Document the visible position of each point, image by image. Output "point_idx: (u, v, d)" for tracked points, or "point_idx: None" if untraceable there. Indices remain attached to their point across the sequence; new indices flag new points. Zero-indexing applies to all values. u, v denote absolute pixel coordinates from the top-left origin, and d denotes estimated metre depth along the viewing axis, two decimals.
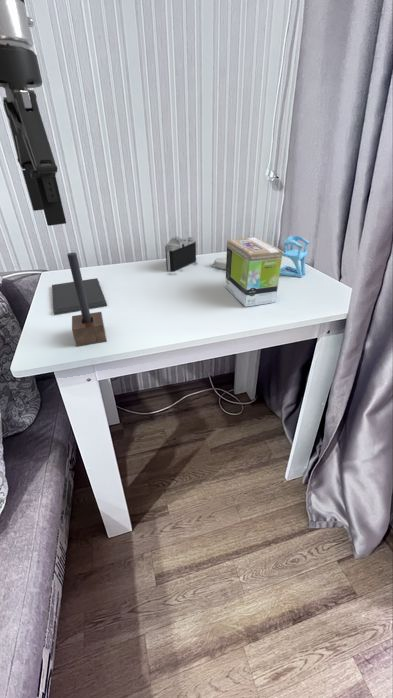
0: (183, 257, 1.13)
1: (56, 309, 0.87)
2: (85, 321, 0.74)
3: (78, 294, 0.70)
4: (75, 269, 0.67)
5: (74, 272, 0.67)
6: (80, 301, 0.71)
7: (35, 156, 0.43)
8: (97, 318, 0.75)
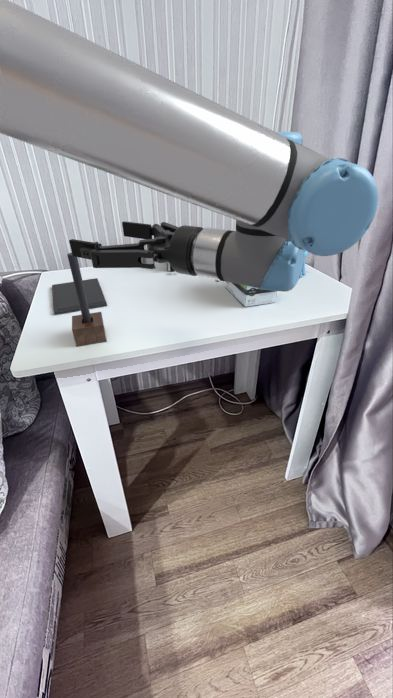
0: None
1: (56, 309, 0.87)
2: (85, 321, 0.74)
3: (78, 294, 0.70)
4: (75, 269, 0.67)
5: (74, 272, 0.67)
6: (80, 301, 0.71)
7: (101, 253, 0.48)
8: (97, 318, 0.75)
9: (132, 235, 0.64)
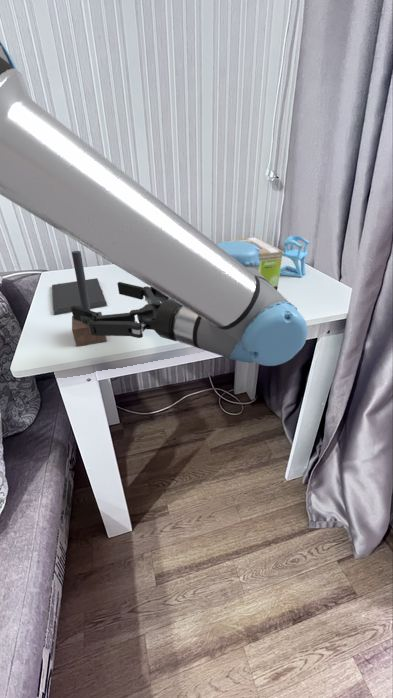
0: None
1: (56, 309, 0.87)
2: None
3: (80, 292, 0.71)
4: (79, 267, 0.68)
5: (77, 270, 0.68)
6: (82, 299, 0.71)
7: (97, 325, 0.58)
8: None
9: (126, 294, 0.73)
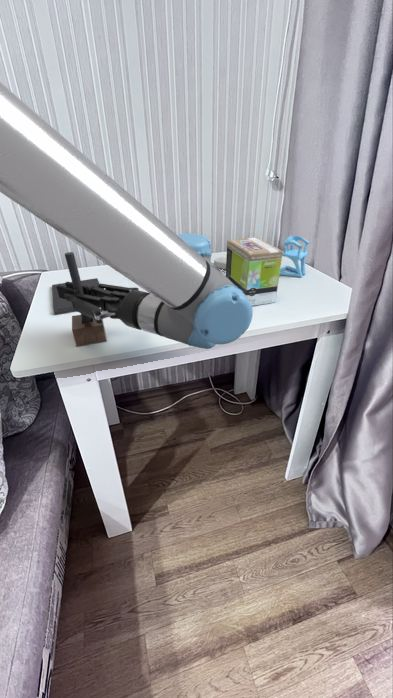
0: None
1: (56, 309, 0.87)
2: (84, 321, 0.74)
3: None
4: (73, 268, 0.67)
5: (72, 271, 0.67)
6: None
7: (74, 301, 0.65)
8: None
9: None
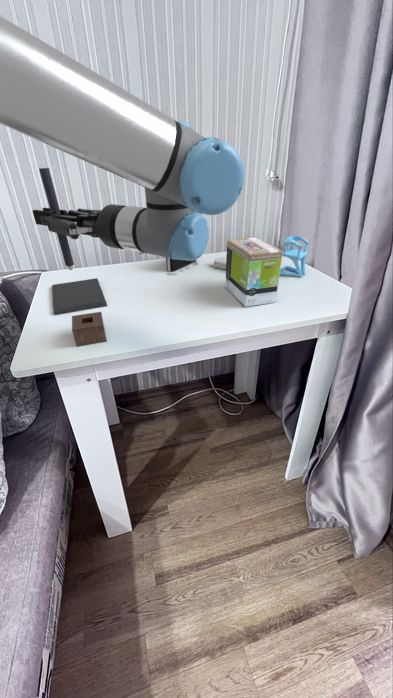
0: None
1: (56, 309, 0.87)
2: (63, 250, 0.69)
3: None
4: (48, 186, 0.62)
5: (47, 190, 0.62)
6: None
7: (49, 219, 0.61)
8: (97, 318, 0.75)
9: None
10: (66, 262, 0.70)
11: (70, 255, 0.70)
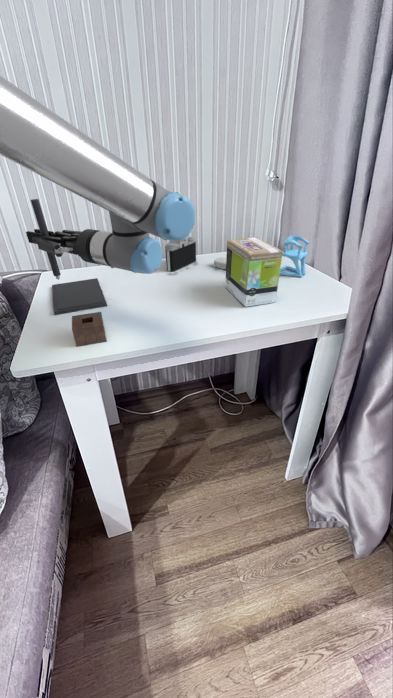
0: (183, 257, 1.13)
1: (56, 309, 0.87)
2: (51, 263, 0.84)
3: None
4: (38, 213, 0.78)
5: (37, 216, 0.78)
6: None
7: (39, 240, 0.76)
8: (97, 318, 0.75)
9: None
10: (54, 273, 0.86)
11: (57, 267, 0.86)
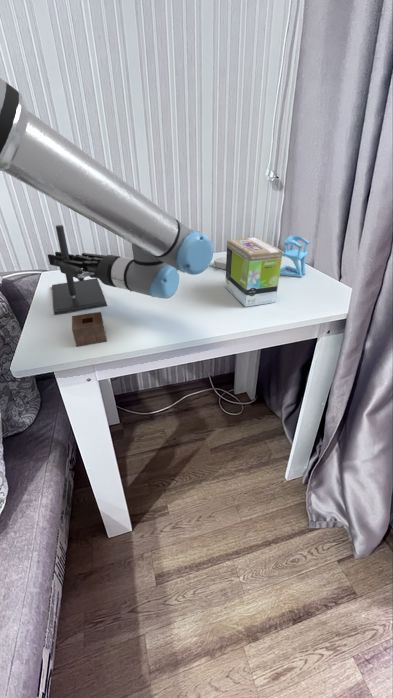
0: None
1: (56, 309, 0.87)
2: (70, 284, 0.89)
3: None
4: (63, 238, 0.83)
5: (62, 241, 0.83)
6: None
7: (62, 265, 0.81)
8: (97, 318, 0.75)
9: None
10: (71, 293, 0.91)
11: (74, 287, 0.91)
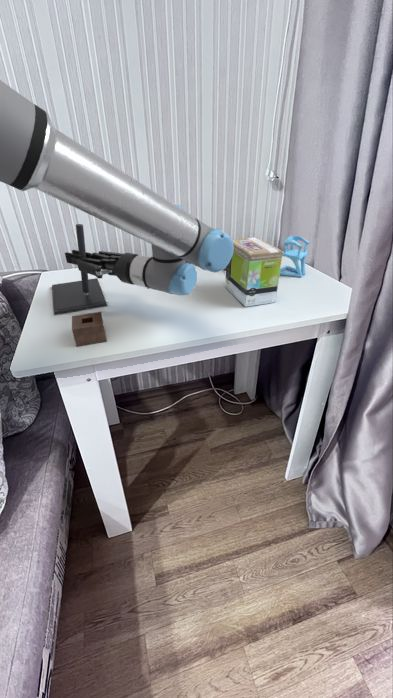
0: None
1: (56, 309, 0.87)
2: (86, 281, 0.91)
3: None
4: (83, 237, 0.84)
5: (82, 240, 0.84)
6: None
7: (80, 262, 0.82)
8: (97, 318, 0.75)
9: None
10: (86, 290, 0.92)
11: None
